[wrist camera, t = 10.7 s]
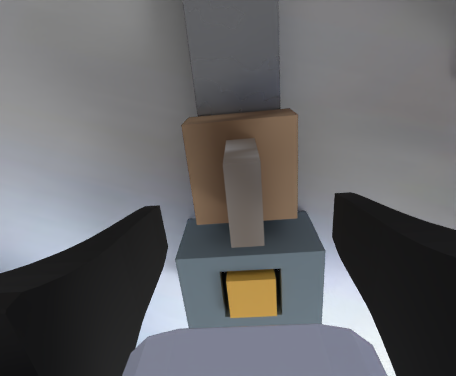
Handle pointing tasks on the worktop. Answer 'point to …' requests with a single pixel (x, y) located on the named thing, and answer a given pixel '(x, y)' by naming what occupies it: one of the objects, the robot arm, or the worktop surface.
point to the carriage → (243, 170)
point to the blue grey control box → (252, 260)
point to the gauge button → (252, 293)
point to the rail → (234, 55)
